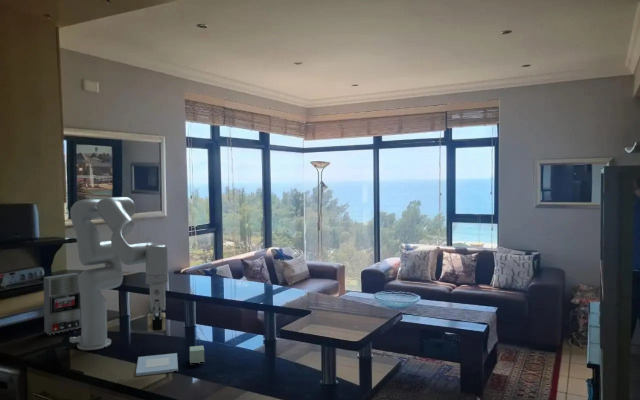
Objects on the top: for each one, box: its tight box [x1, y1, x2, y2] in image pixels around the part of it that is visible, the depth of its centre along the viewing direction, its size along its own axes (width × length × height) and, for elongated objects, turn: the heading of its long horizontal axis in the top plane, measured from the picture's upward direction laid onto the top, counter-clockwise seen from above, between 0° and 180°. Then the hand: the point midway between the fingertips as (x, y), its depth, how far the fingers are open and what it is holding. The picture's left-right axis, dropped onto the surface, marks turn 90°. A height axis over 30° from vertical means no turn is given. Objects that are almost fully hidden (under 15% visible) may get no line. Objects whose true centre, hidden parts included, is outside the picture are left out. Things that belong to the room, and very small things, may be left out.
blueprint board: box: [135, 352, 179, 377], centre depth 175 cm, size 14×16×1 cm
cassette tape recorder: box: [43, 272, 81, 336], centre depth 214 cm, size 14×6×25 cm, turn 141°
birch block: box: [147, 312, 166, 333], centre depth 174 cm, size 6×6×5 cm
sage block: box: [189, 345, 205, 365], centre depth 179 cm, size 5×5×5 cm
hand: (157, 326), depth 174 cm, fingers closed on birch block, 6 cm apart
